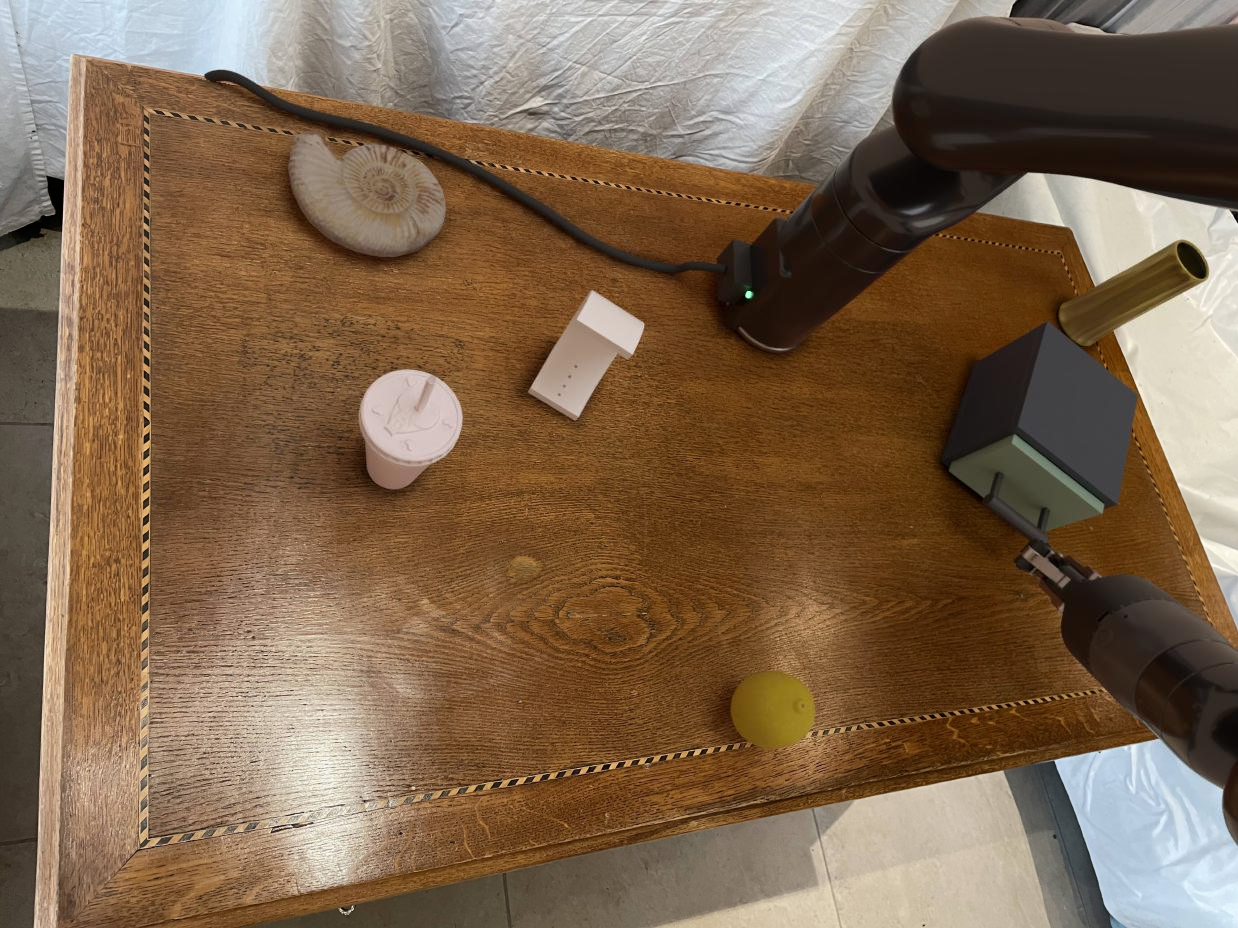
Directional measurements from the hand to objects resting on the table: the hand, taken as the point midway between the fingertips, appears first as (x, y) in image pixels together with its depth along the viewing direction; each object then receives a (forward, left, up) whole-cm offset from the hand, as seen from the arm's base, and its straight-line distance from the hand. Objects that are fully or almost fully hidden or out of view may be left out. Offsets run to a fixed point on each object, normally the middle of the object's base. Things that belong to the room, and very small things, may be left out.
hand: (1032, 550), depth 69 cm
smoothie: (-54, +2, -8) cm, 55 cm away
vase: (+24, +34, -8) cm, 42 cm away
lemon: (-25, -14, -8) cm, 30 cm away
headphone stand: (-41, +12, -8) cm, 44 cm away
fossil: (-59, +23, -8) cm, 64 cm away
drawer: (+6, +11, -7) cm, 14 cm away
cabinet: (+8, +15, -8) cm, 18 cm away
